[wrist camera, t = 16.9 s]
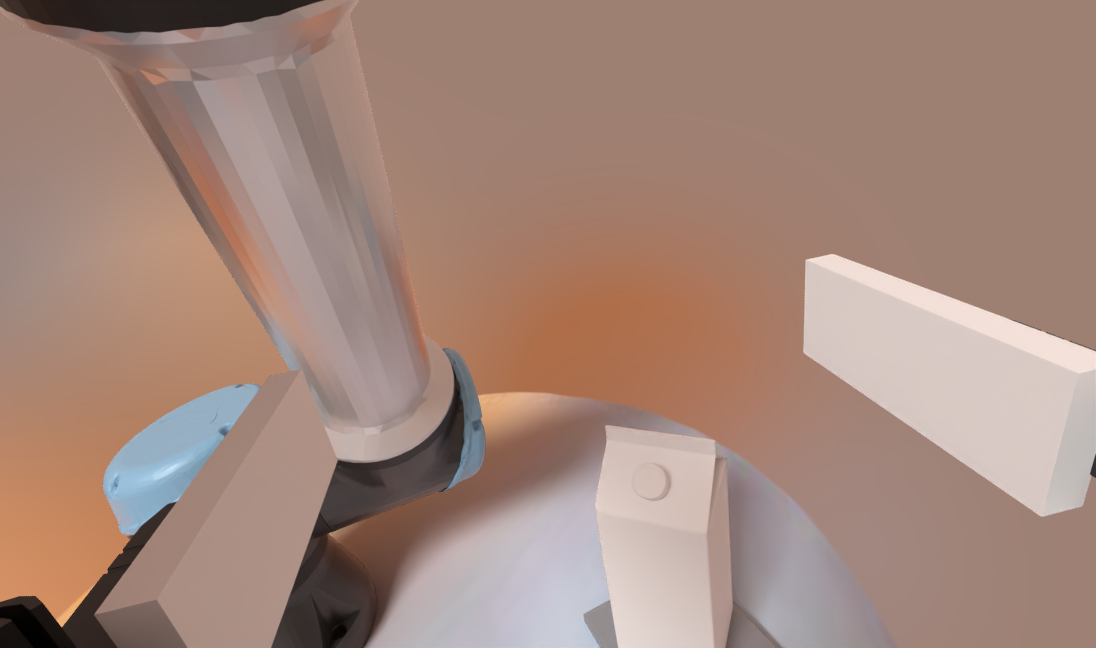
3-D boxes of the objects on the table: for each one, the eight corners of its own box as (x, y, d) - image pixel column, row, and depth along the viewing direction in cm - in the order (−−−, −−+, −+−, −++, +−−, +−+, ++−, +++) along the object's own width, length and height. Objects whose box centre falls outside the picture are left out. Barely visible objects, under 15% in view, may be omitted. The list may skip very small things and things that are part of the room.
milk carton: (646, 585, 45) (622, 397, 38) (733, 609, 42) (724, 408, 35) (619, 662, 40) (585, 458, 32) (717, 697, 36) (703, 479, 29)
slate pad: (584, 621, 44) (583, 614, 44) (691, 563, 48) (691, 556, 47) (662, 752, 35) (661, 745, 34) (788, 668, 38) (788, 660, 38)
